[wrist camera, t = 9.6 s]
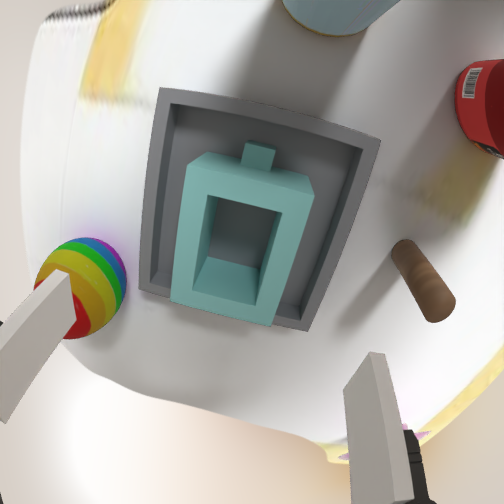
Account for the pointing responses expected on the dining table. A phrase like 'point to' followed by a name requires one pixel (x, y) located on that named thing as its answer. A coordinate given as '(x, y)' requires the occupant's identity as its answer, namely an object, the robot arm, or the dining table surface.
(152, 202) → the tray
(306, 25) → the bottle
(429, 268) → the post
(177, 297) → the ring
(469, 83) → the canned food
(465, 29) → the dining table surface
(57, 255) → the decorative egg
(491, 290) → the dining table surface
